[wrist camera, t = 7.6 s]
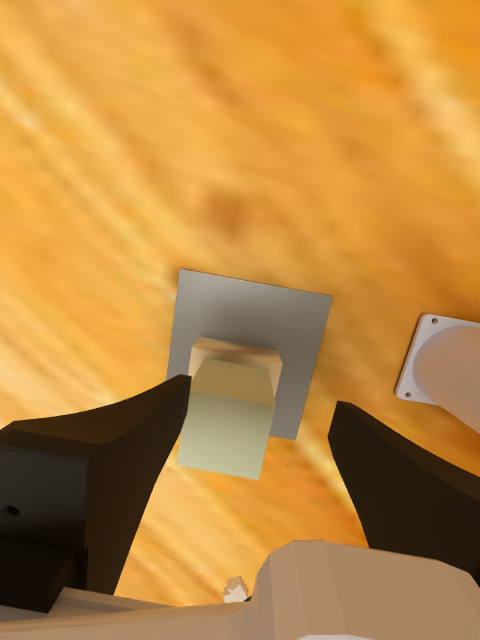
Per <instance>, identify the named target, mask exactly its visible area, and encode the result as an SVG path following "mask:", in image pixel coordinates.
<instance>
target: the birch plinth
mask: <svg viewBox="0 0 480 640" xmlns="http://www.w3.org/2000/svg"><path fill="white" fill-rule="evenodd" d="M204 357H205V358H210V359H215V360H221V361H226V362H232V363H237V364H243V365H248V366H253V367H259V368H264V369H269V374H270V379H271V384H272V389H273V394H274V399H275V395H276V390H277V386H278V382H279V377H280V373H281V369H282V364H283V363H282V361H281V358H280V355H279V352H278V351H277V350H271V349H266V348H260V347H255V346H249V345H244V344H238V343H233V342H228V341H222V340H217V339H211V338H206V337H199V338H198V340H197V341H196V342H195V344H194V345H193V346H192V350H191V357H190V364H189V371H188V375H189V376H192V380H193V378H194V376H195V374H196V372H197V370H198V368H199V366H200V365H201V363H202V361H203V359H204ZM192 380H191V382H192Z"/></svg>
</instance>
